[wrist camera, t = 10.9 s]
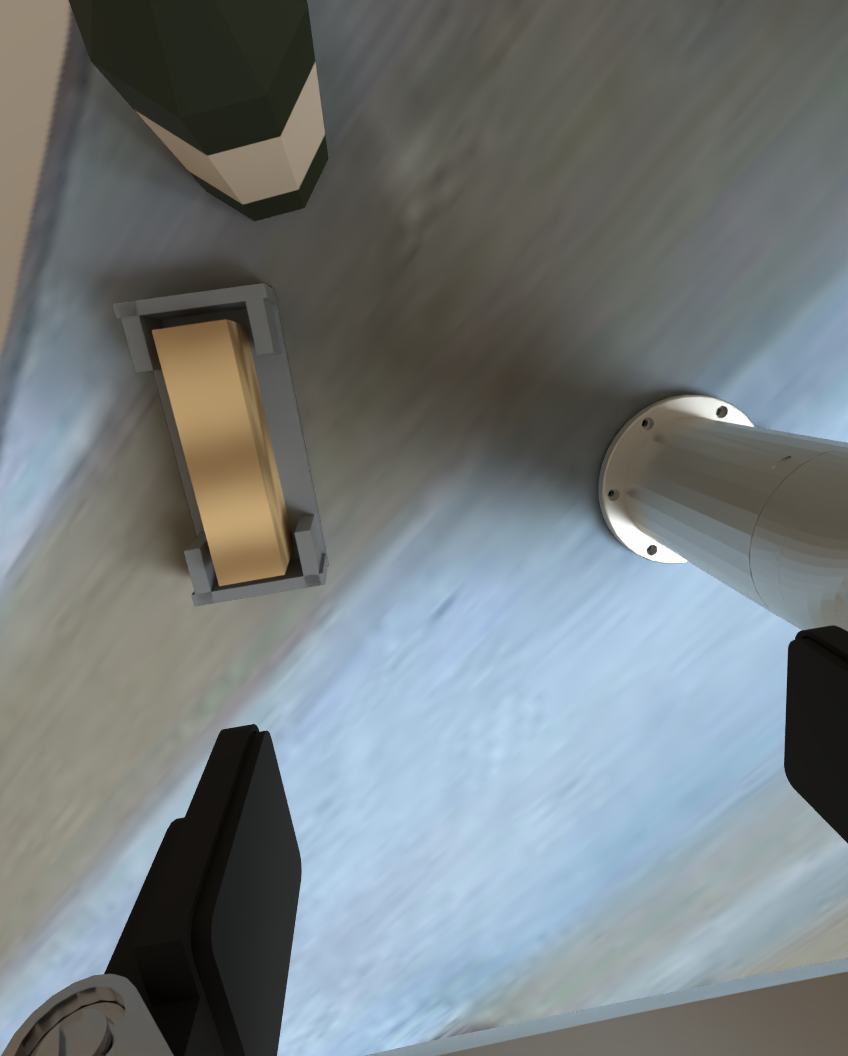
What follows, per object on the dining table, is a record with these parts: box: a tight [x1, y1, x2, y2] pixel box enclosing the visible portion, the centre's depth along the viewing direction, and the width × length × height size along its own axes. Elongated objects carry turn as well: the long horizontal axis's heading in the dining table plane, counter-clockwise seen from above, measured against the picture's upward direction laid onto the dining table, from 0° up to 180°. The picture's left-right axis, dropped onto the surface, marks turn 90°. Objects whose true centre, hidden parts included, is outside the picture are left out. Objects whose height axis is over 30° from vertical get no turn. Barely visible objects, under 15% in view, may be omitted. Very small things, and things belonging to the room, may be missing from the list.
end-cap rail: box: [112, 283, 329, 607], centre depth 39 cm, size 19×8×5 cm, turn 8°
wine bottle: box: [69, 0, 328, 221], centre depth 22 cm, size 8×8×30 cm
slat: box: [152, 319, 294, 586], centre depth 37 cm, size 15×4×6 cm, turn 8°
